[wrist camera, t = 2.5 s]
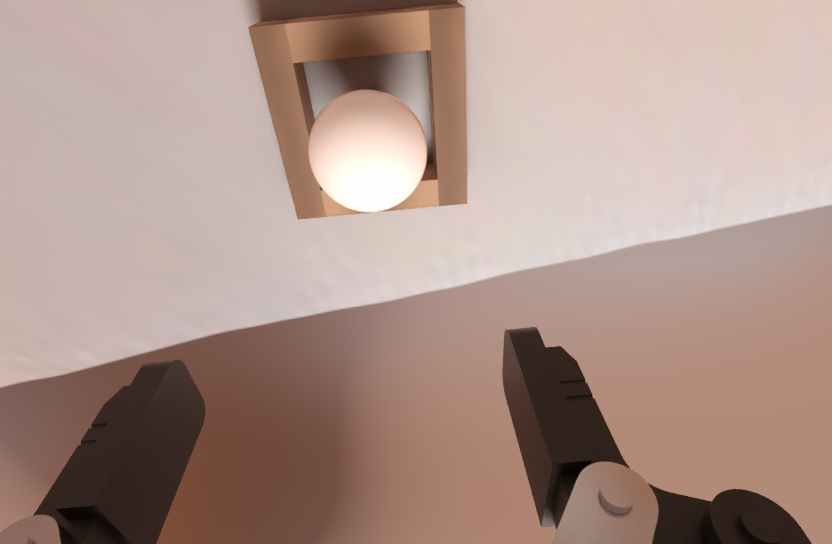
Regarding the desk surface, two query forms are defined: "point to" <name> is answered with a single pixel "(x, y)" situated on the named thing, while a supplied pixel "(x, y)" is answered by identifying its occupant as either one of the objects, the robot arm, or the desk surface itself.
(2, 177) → the desk surface
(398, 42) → the holder
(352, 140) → the lightbulb
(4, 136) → the desk surface
